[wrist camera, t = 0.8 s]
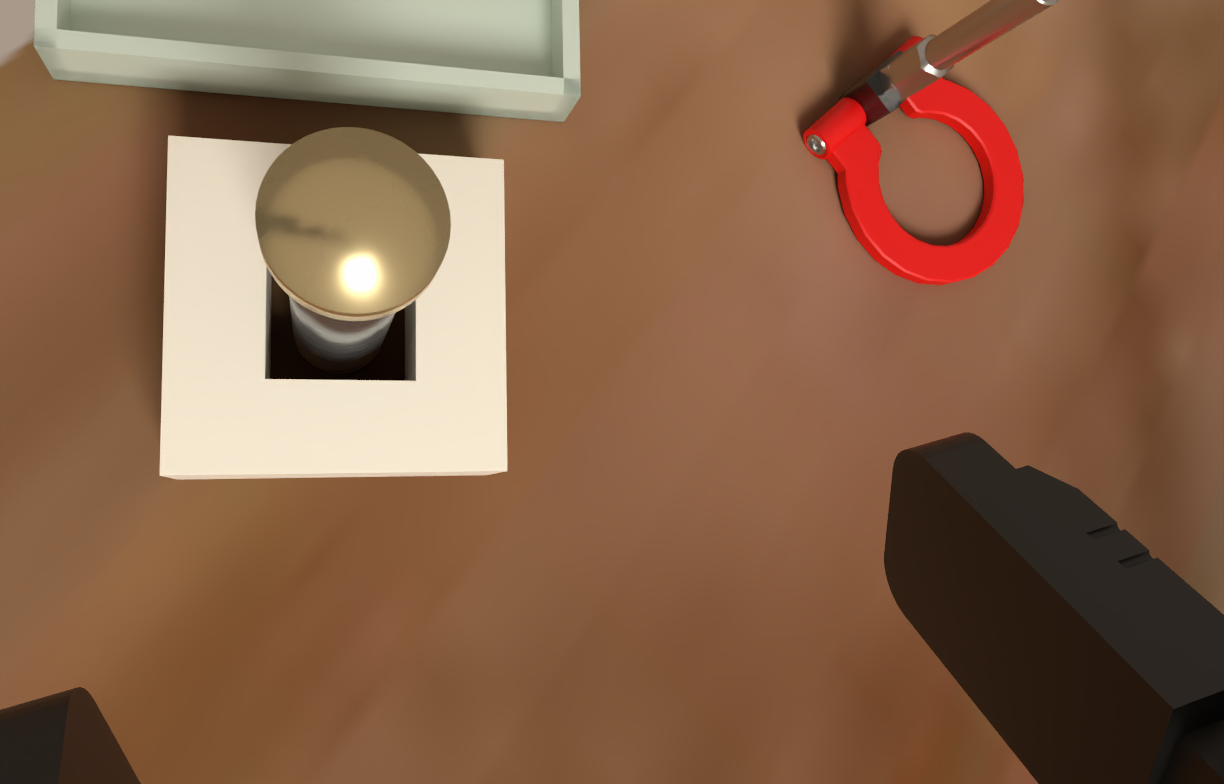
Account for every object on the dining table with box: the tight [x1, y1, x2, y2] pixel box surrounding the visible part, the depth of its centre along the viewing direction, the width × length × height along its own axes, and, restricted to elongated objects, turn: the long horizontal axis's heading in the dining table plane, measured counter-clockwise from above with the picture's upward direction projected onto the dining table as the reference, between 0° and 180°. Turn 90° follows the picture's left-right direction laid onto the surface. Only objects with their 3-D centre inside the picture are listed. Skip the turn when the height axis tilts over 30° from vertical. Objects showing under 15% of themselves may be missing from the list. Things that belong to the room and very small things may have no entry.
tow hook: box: [803, 0, 1058, 285], centre depth 36 cm, size 8×13×9 cm
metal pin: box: [255, 127, 451, 374], centre depth 28 cm, size 4×4×14 cm
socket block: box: [160, 136, 507, 479], centre depth 33 cm, size 10×10×4 cm
